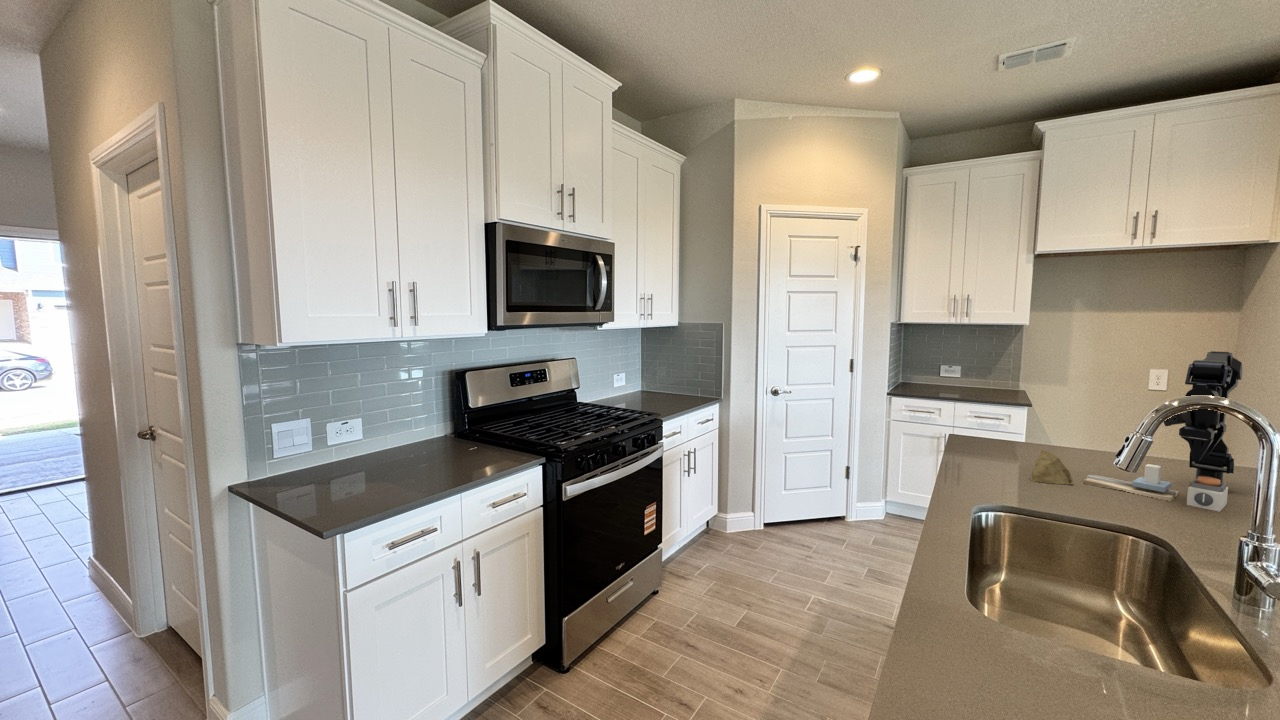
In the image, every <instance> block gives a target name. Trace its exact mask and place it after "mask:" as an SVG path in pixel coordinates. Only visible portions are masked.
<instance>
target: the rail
mask: <svg viewBox="0 0 1280 720" xmlns="http://www.w3.org/2000/svg"><path fill="white" fill-rule="evenodd" d="M1086 477H1087V478H1085V479H1083V481H1082V483H1083V484H1084V483H1085V484H1086V485H1089V484H1091V485H1090V486H1094V485H1096V486H1095V487H1099V486H1101V487H1100V488H1103V487H1107V488H1106V489H1108V488H1113V489H1118V490H1123V491H1126V492H1125V493H1127V492H1130V493H1129V494H1132V493H1135V494H1134V495H1137V494H1139V495H1138V496H1142V495H1143V497H1147V496H1148V497H1147V498H1151V497H1153V498H1152V499H1156V498H1158V500H1161V499H1164V500H1163V501H1166V500H1169V501H1168V502H1172V501H1173V500H1174V499H1175V498H1177V497H1178V496H1179V494H1180V493H1179V491H1178V490H1174V489H1170V488H1169V489H1168V490H1167V491H1165V492H1160V491H1155V490H1150V489H1145V488H1140V487H1135V486H1132V483H1133V481H1128V480H1123V479H1122V480H1121V479H1118V478H1112V477H1107V476H1102V475H1095V474H1088V475H1087V476H1086ZM1113 489H1112V490H1113ZM1118 490H1117V491H1118ZM1123 491H1122V492H1123ZM1173 498H1174V499H1173ZM1172 499H1173V500H1172Z"/></svg>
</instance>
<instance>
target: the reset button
mask: <svg viewBox="0 0 1280 720" xmlns="http://www.w3.org/2000/svg"><path fill="white" fill-rule="evenodd" d="M1220 481H1221V480H1219V479H1216V478H1212V477H1205V476H1198V479H1197V482H1198V483H1201V484H1205V485H1211V486H1220Z"/></svg>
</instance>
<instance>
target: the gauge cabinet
mask: <svg viewBox="0 0 1280 720" xmlns="http://www.w3.org/2000/svg"><path fill="white" fill-rule="evenodd" d="M1228 493H1229V486H1227V484H1226V483H1223V484H1222V483H1220V486H1211V485H1205V484H1201V483H1198V482H1197V479H1195V478H1194V479H1193V480H1191V482H1190V486H1188V487H1187V495H1186V496H1187V497H1186V506H1190V505H1191V506H1190V507H1195V508H1200V509H1204V510H1205V509H1206V510H1210V511H1214V512H1220V513H1221V511H1222V510H1223V509H1224V508H1225V507H1226V505H1227V503H1228Z"/></svg>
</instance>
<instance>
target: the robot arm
mask: <svg viewBox="0 0 1280 720" xmlns="http://www.w3.org/2000/svg"><path fill="white" fill-rule="evenodd" d="M1242 378H1243V363H1242V362H1241V361H1240V360H1238V359H1237V358H1236V357H1234V355H1233V352H1230V351H1213V350H1212V351H1208V352H1207V353H1206V356H1205V358H1204V359H1202V360H1201V359H1195V360H1193V361H1192V363H1189V365H1188V368H1187V373H1186V378H1185V382H1184V385H1187V386H1188V385H1190V386H1191V385H1192V388H1191V389H1189V390H1188V391H1187V392H1186V393H1185V395H1184V397H1185V396H1191V395H1212V396H1220V397H1225V398H1228V399H1229V396H1230V395H1229V394H1230V393H1231V392H1232V391H1234V389H1236V388H1237V387H1238V384H1239V381H1241V380H1242ZM1182 412H1183V413H1180V412H1179V413H1180V414H1177V415H1174V416H1172V417H1171V418H1169V419H1167V420H1166V421H1164V422H1163V424H1164V427H1171V426H1174V425H1175V426H1176V425H1182V424H1184V426H1182V427H1181V428H1179V431H1178V436H1180V438H1181V439H1183V440H1184V441H1186V442H1187V443H1188V445H1189V449H1190V450H1189V451H1190V452H1189V462H1188V463H1189V466H1188V467H1189V468H1190V469H1191V468H1192V469H1193V468H1194V469H1196V470H1195V478H1194V479H1198V476H1205V477H1212V478H1216V479H1219V480H1221V481H1220V483H1222V484H1224V483H1223V482H1224V473H1225V474H1228V475H1229V474H1234V471H1235V458H1233V456H1232V453H1230V448H1229V447H1228V445H1227V444H1226V443H1225V441H1224V435H1225V433H1226V432H1227V424H1226V418H1227V417H1226V416H1227V413H1226V414H1224V413H1221V412H1218V411H1214V410H1208V409H1198V410H1192V411H1187V410H1186V411H1182Z"/></svg>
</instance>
